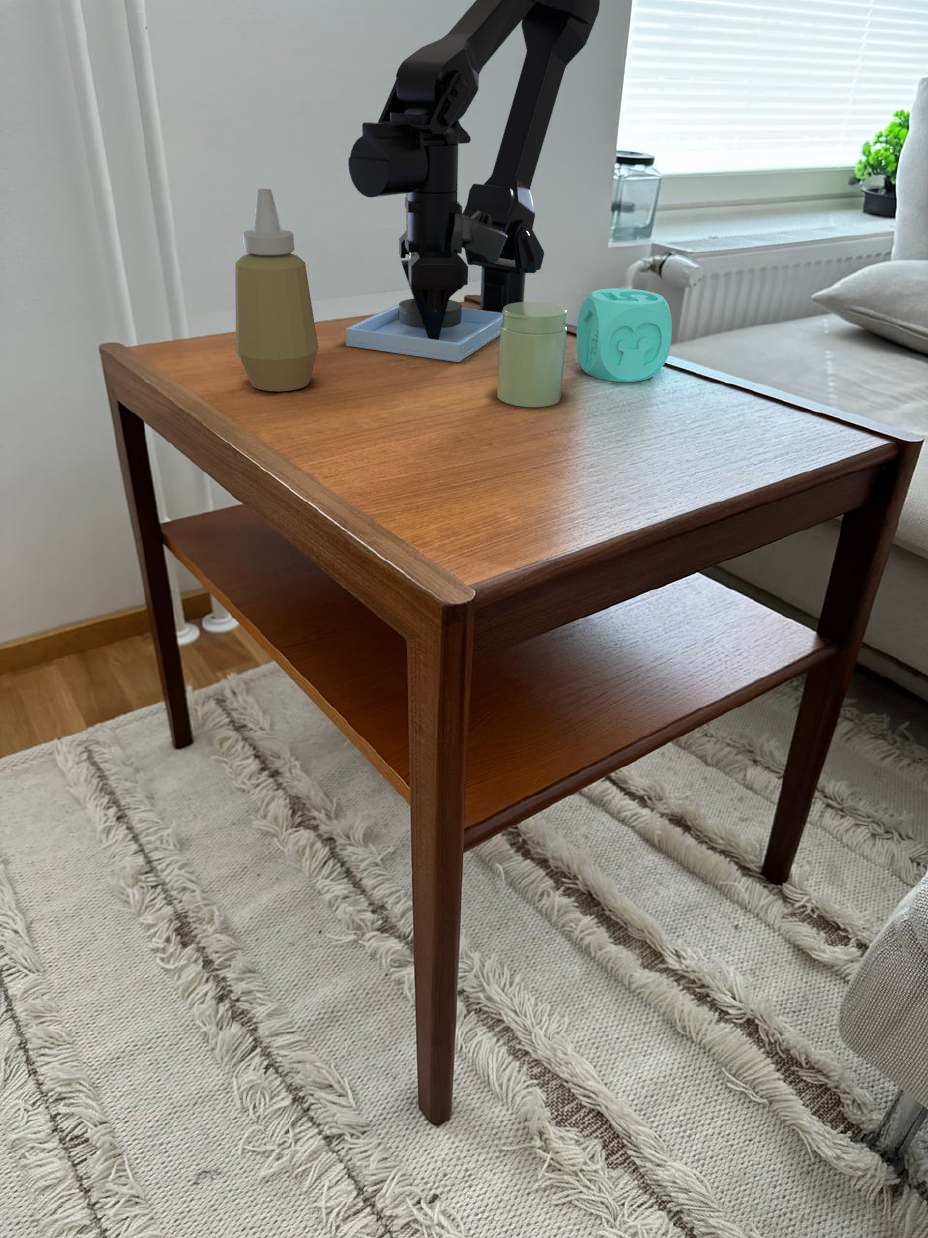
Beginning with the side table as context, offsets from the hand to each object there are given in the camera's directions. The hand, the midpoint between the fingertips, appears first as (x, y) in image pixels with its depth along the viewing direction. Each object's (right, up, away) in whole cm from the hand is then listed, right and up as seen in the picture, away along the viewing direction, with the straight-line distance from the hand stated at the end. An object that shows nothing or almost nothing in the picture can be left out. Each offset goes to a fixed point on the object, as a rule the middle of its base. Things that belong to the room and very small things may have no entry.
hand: (430, 332), depth 108 cm
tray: (0, -1, 0) cm, 1 cm away
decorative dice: (+21, -8, -9) cm, 24 cm away
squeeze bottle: (-15, -11, -17) cm, 25 cm away
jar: (+11, -12, -18) cm, 24 cm away
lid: (0, +2, -1) cm, 3 cm away
